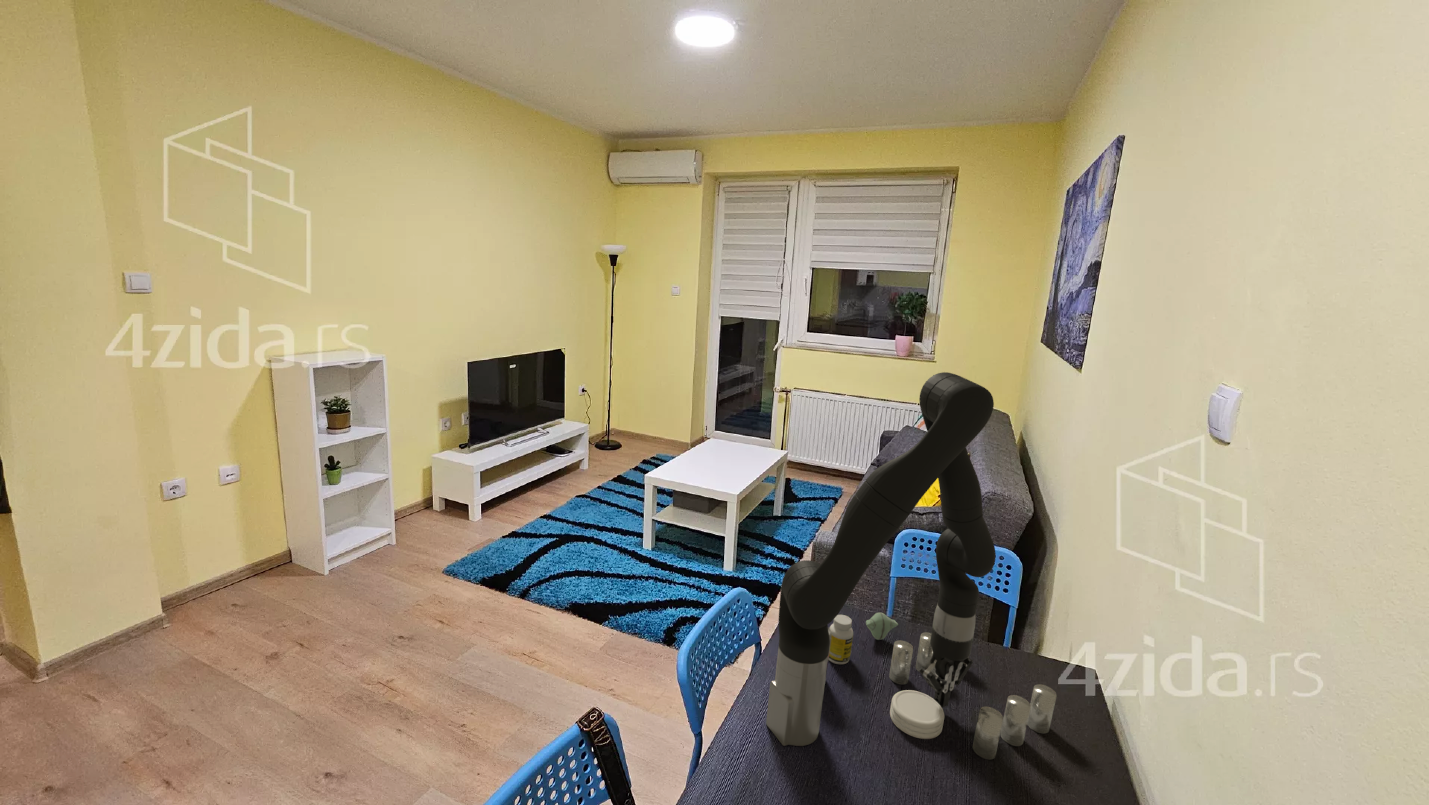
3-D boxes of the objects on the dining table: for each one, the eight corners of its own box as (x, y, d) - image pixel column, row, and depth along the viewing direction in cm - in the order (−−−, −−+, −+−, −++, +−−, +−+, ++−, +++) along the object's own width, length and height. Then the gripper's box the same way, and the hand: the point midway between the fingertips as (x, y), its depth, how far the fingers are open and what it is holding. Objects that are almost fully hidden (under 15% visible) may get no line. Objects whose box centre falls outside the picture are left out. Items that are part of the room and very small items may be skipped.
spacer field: (985, 762, 109) (993, 724, 107) (885, 675, 132) (890, 642, 130) (1053, 730, 119) (1061, 695, 117) (948, 653, 141) (953, 623, 139)
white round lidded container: (947, 718, 120) (950, 703, 119) (934, 749, 112) (937, 733, 111) (898, 696, 125) (900, 682, 125) (882, 724, 117) (884, 708, 116)
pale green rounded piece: (865, 644, 142) (868, 619, 141) (859, 634, 146) (862, 609, 145) (896, 643, 143) (900, 618, 142) (889, 633, 147) (893, 609, 146)
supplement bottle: (844, 668, 133) (850, 629, 131) (822, 659, 136) (826, 620, 133) (853, 656, 137) (858, 618, 135) (830, 647, 140) (835, 609, 138)
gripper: (944, 647, 111) (932, 727, 115) (991, 631, 117) (978, 706, 121) (914, 626, 117) (903, 702, 121) (960, 611, 124) (948, 683, 127)
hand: (941, 704), depth 121 cm, fingers closed
